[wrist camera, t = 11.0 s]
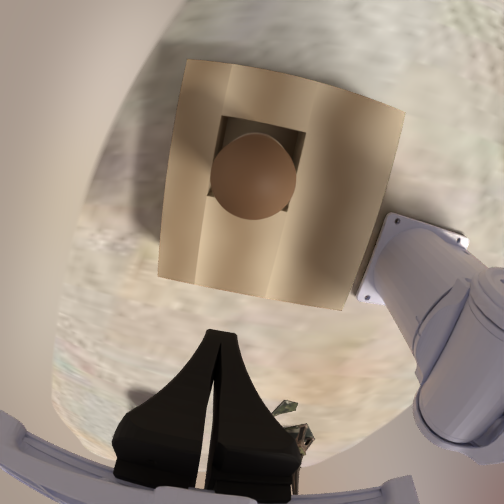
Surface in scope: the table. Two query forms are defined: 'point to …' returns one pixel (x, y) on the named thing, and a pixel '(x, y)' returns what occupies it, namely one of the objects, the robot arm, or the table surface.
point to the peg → (253, 177)
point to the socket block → (305, 194)
